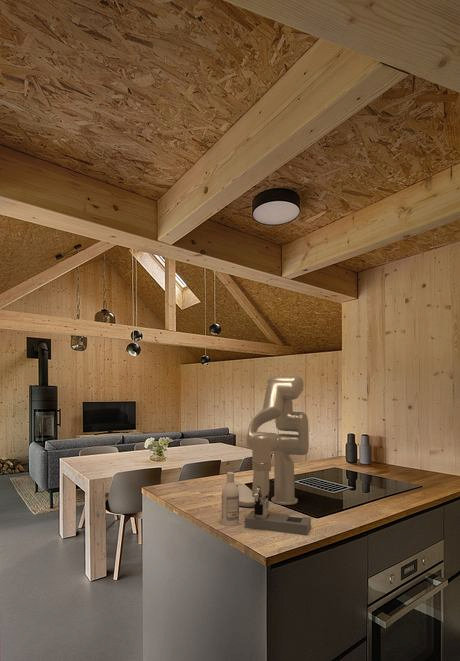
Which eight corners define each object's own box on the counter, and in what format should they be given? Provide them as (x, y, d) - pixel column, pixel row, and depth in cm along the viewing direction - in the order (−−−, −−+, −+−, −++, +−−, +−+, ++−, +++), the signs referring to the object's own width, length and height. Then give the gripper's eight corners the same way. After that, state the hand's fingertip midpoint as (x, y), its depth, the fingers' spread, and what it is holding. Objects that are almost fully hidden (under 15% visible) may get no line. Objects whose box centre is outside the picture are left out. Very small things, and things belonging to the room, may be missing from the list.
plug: (258, 523, 166) (258, 497, 167) (269, 524, 164) (269, 498, 166) (255, 526, 162) (255, 499, 163) (267, 527, 160) (266, 500, 162)
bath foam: (242, 524, 165) (242, 472, 168) (230, 528, 160) (230, 475, 163) (229, 520, 170) (230, 470, 173) (217, 524, 165) (218, 472, 168)
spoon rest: (262, 509, 187) (262, 492, 188) (237, 510, 184) (237, 493, 185) (248, 495, 210) (248, 480, 211) (226, 496, 207) (226, 481, 208)
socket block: (251, 521, 170) (251, 510, 170) (310, 528, 162) (310, 517, 162) (244, 529, 160) (244, 517, 161) (307, 536, 153) (306, 525, 153)
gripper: (258, 462, 175) (258, 504, 173) (246, 469, 159) (246, 516, 157) (275, 463, 173) (275, 506, 171) (265, 471, 157) (265, 518, 155)
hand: (261, 511), depth 164 cm, fingers open, 9 cm apart
